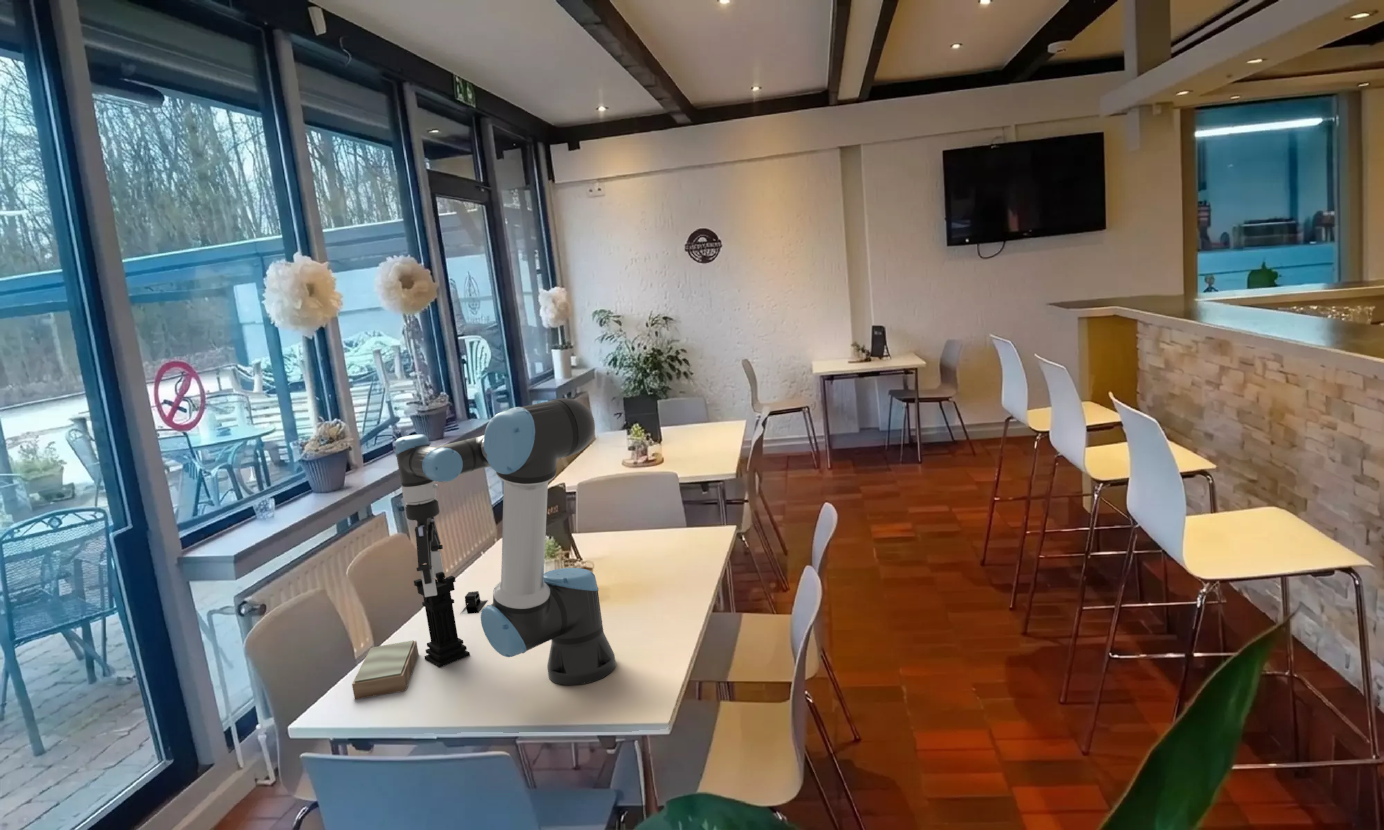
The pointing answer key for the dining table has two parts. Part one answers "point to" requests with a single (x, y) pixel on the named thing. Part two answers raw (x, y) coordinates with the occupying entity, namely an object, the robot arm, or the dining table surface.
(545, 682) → the dining table surface
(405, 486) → the robot arm
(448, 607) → the chess piece
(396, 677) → the walnut stand
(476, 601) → the black blocky piece
